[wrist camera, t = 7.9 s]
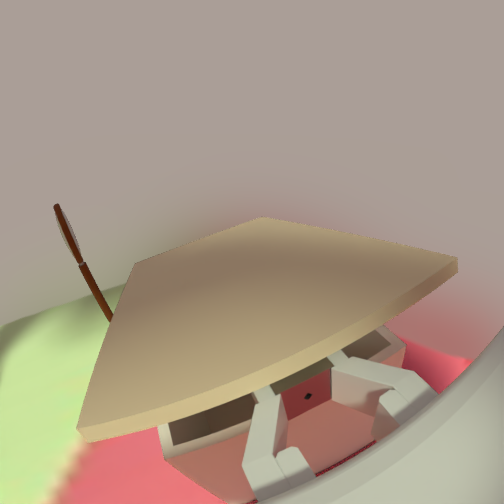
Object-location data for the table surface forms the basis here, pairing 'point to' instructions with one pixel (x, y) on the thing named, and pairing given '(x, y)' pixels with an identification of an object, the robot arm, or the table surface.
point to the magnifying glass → (80, 259)
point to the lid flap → (244, 317)
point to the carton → (299, 434)
